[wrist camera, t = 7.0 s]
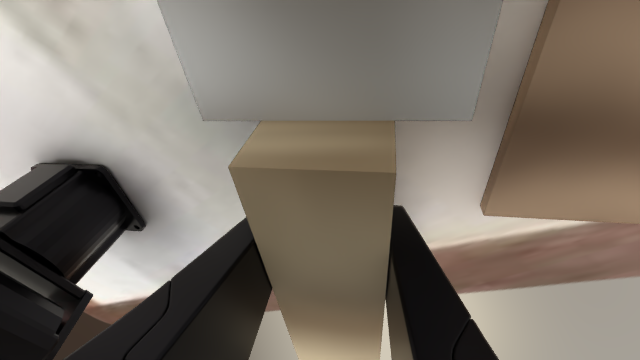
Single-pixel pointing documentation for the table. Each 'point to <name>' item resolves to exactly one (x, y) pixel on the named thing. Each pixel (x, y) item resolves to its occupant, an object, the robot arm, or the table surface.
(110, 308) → the table surface
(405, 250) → the robot arm
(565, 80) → the board
